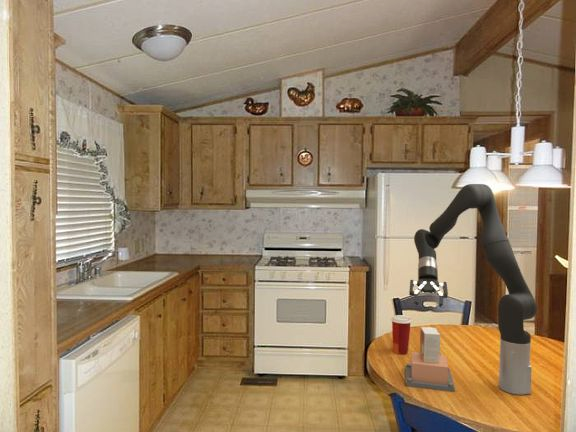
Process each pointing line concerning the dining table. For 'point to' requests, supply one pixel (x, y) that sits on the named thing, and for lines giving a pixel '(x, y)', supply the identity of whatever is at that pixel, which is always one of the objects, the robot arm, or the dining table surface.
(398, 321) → the coffee cup
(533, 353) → the dining table surface
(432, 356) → the small box
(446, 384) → the tower base
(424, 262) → the robot arm
